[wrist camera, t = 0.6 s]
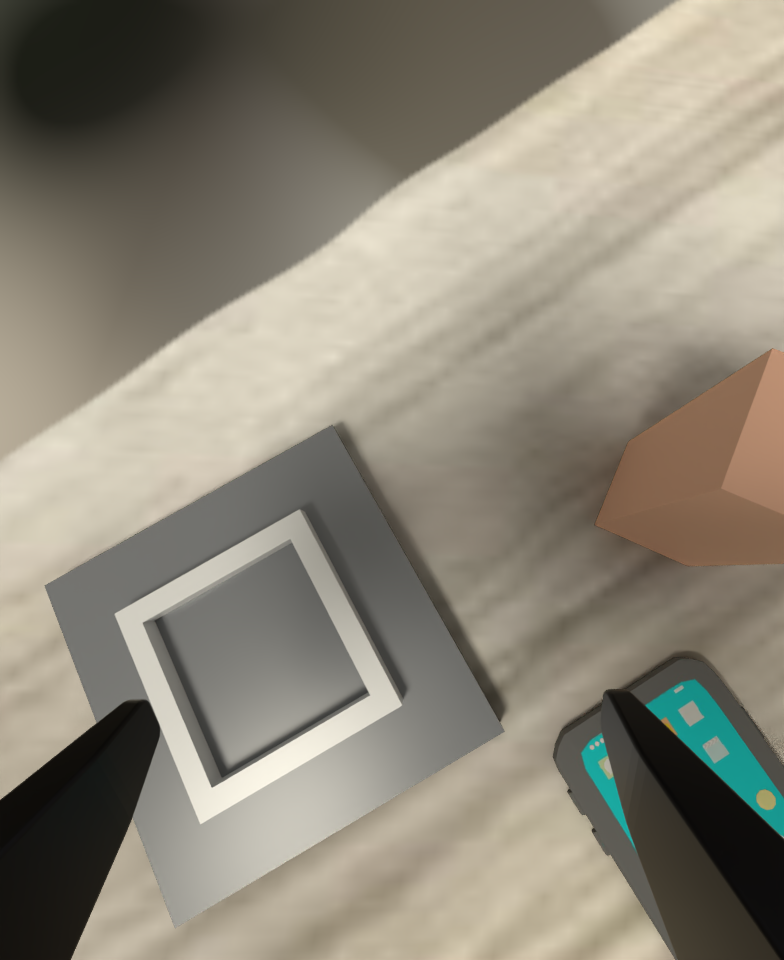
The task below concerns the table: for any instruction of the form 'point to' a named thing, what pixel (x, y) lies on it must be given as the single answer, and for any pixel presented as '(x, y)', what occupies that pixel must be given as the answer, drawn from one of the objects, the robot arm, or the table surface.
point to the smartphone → (703, 728)
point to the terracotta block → (709, 475)
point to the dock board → (269, 669)
